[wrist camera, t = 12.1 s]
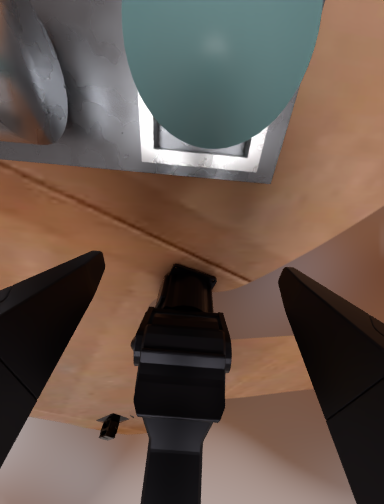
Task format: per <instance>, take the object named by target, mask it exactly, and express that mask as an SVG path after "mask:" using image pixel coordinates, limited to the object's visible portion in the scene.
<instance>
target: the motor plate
mask: <svg viewBox="0 0 384 504" xmlns="http://www.w3.org/2000/svg"><path fill="white" fill-rule="evenodd" d="M324 2H325V0H323V4H322V9H323V6H324ZM299 87H300V84H299V86H298V88H297V90H296V92H295V93H294V95H293V97H292V98H291V100H290V101H289V103H288V104H287V105H286V107H285V108H284V109H283V111H282V112H281V113H280V114H279V115H278V117H277V118H276V119H275V120H274V121H273V122H272V123H271V124H270V125H269V126H267V127H266V128H265V129H264V130H262V131H261V132H260V133H259V134H257V135H256V136H254V137H252V138H251V139H249V140H247V141H245V142H243V143H240V144H238V145H235V146H231V147H228V148H221V149H205V148H199V147H195V146H192V145H189V144H187V143H185V142H183V141H181V140H179V139H177V138H176V137H174V136H173V135H171V134H170V133H169V132H168V131H167V130H165V129H164V128H163V127H162V126H161V125H160V124H159V123H158V122H157V120H156V119H155V118H154V117H153V116H152V114H151V113H150V111H149V110H148V108H147V107H146V105H145V104H144V102H143V100H142V98H141V96H140V95H139V92H138V90H137V88H136V85H135V83H134V81H133V78H132V75H131V71H130V68H129V65H128V61H127V56H126V52H125V47H124V39H123V31H122V0H0V159H5V160H16V161H27V162H37V163H48V164H59V165H70V166H81V167H92V168H102V169H113V170H124V171H135V172H146V173H157V174H167V175H178V176H189V177H200V178H211V179H222V180H233V181H243V182H254V183H265V184H271V181H272V177H273V174H274V171H275V167H276V164H277V161H278V157H279V154H280V150H281V147H282V144H283V140H284V137H285V134H286V130H287V127H288V124H289V120H290V117H291V113H292V110H293V107H294V103H295V100H296V97H297V93H298V90H299Z"/></svg>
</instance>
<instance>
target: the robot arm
mask: <svg viewBox="0 0 384 504" xmlns="http://www.w3.org/2000/svg"><path fill="white" fill-rule="evenodd" d="M175 267H177V268H175ZM104 270H105V262H104V257H103V253H102V252H101V251H91V252H88V253H86V254H84V255H81V256H79V257H77V258H74V259H72V260H70V261H67V262H65V263H63V264H60V265H58V266H56V267H54V268H51V269H49V270H47V271H44V272H42V273H40V274H37V275H35V276H33V277H30V278H28V279H26V280H24V281H21V282H19V283H17V284H14V285H13V286H10V287H7V288H5V289H3V290H0V468H1V466H2V464H3V462H4V460H5V459H6V457H7V455H8V453H9V451H10V449H11V448H12V446H13V444H14V442H15V440H16V438H17V437H18V435H19V433H20V431H21V429H22V427H23V425H24V424H25V422H26V420H27V418H28V416H29V415H30V413H31V411H32V409H33V407H34V405H35V404H36V402H37V399H38V398H39V396H40V394H41V392H42V390H43V389H44V387H45V385H46V383H47V381H48V379H49V378H50V376H51V374H52V372H53V370H54V368H55V367H56V365H57V363H58V361H59V359H60V357H61V356H62V354H63V352H64V350H65V348H66V346H67V345H68V343H69V341H70V339H71V337H72V335H73V334H74V332H75V330H76V328H77V326H78V324H79V323H80V321H81V319H82V317H83V315H84V313H85V312H86V310H87V308H88V306H89V304H90V302H91V301H92V299H93V297H94V295H95V292H96V290H97V287H98V285H99V282H100V280H101V278H102V275H103V273H104ZM212 280H214V281H212ZM216 282H217V280H216V278H215V277H213V276H210V275H207V274H204V273H202V272H199V271H196V270H193V269H190V268H187V267H185V266H182V265H179V264H174V265H173V267H172V269H171V271H170V273H169V275H166V276H165V278H164V280H163V282H162V285H161V287H160V290H159V294H158V298H157V302H156V306H155V308H154V307H149V308H148V311H147V312H146V313H145V315H144V318H143V320H142V322H141V324H140V326H139V329H138V331H137V333H136V336H135V337H134V338H133V340H132V342H131V348H132V349H133V351H134V366H138V372H137V379H136V386H135V394H134V405H135V410H136V414H137V416H138V417H142V418H143V421H144V424H145V427H146V430H147V433H148V436H149V443H148V452H147V459H146V467H145V475H144V482H143V490H142V497H141V504H201V477H202V475H201V474H202V448H203V441H204V439H205V437H206V435H207V433H208V431H209V429H210V427H211V426H212V424H213V422H215V423H218V422H219V421H220V419H221V416H222V414H223V411H224V409H225V373H229V371H230V367H231V358H232V350H231V339H230V335H229V331H228V328H227V325H226V322H225V318H224V315H223V313H220V312H218V313H213V301H212V288H213V287H214V285H215V284H216ZM278 284H279V288H280V292H281V297H282V301H283V305H284V308H285V312H286V315H287V317H288V320H289V323H290V325H291V328H292V331H293V334H294V336H295V339H296V342H297V344H298V347H299V350H300V352H301V355H302V358H303V360H304V363H305V366H306V368H307V371H308V374H309V377H310V379H311V382H312V385H313V387H314V390H315V392H316V395H317V398H318V401H319V403H320V406H321V408H322V411H323V414H324V416H325V419H326V420H327V421H326V422H327V425H328V428H329V431H330V433H331V436H332V439H333V441H334V444H335V447H336V449H337V452H338V455H339V457H340V460H341V463H342V466H343V468H344V471H345V474H346V476H347V479H348V482H349V484H350V487H351V490H352V492H353V495H354V498H355V500H356V503H357V504H384V323H382V322H381V321H379V320H377V319H376V318H374V317H373V316H370V315H369V314H368V313H366V312H364V311H363V310H361V309H360V308H358V307H356V306H355V305H353V304H351V303H350V302H348V301H347V300H345V299H343V298H342V297H340V296H338V295H337V294H335V293H334V292H332V291H331V290H329V289H327V288H326V287H324V286H323V285H321V284H319V283H318V282H316V281H314V280H313V279H311V278H310V277H308V276H306V275H305V274H303V273H302V272H300V271H298V270H297V269H295V268H293V267H285V268H284V269H283V271H282V273H281V276H280V278H279V281H278Z"/></svg>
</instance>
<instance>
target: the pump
mask: <svg viewBox="0 0 384 504" xmlns="http://www.w3.org/2000/svg"><path fill="white" fill-rule="evenodd" d="M322 4H323V0H122V31H123V39H124V47H125V52H126V56H127V61H128V65H129V68H130V71H131V75H132V78H133V81H134V83H135V85H136V88H137V90H138V92H139V95H140V96H141V98H142V100H143V102H144V104H145V105H146V107H147V108H148V110H149V111H150V113H151V114H152V116H153V117H154V118H155V119H156V120H157V122H158V123H159V124H160V125H161V126H162V127H163V128H164V129H165V130H167V131H168V132H169V133H170V134H171V135H173V136H174V137H176V138H177V139H179V140H181V141H183V142H185V143H187V144H189V145H192V146H195V147H199V148H205V149H221V148H228V147H231V146H235V145H238V144H240V143H243V142H245V141H247V140H249V139H251V138H252V137H254V136H256V135H257V134H259V133H260V132H261V131H262V130H264V129H265V128H266V127H267V126H269V125H270V124H271V123H272V122H273V121H274V120H275V119H276V118H277V117H278V115H279V114H280V113H281V112H282V111H283V109H284V108H285V107H286V105H287V104H288V103H289V101H290V100H291V98H292V97H293V95H294V93H295V92H296V90H297V88H298V86H299V84H300V83H301V81H302V79H303V76H304V74H305V72H306V70H307V67H308V65H309V62H310V59H311V56H312V53H313V51H314V47H315V43H316V39H317V35H318V31H319V26H320V20H321V14H322Z"/></svg>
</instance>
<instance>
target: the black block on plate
mask: <svg viewBox="0 0 384 504" xmlns="http://www.w3.org/2000/svg"><path fill="white" fill-rule="evenodd" d="M130 416H131V415H130ZM131 417H132V418H134V416H131ZM126 420H129V419H128V418H126V417H123V416H120V415H117V414H114V413H113V414H110V415H108V416H105V417H103V418H101V419H98V420H96V421H99V422H102V423H103V426H102V429H101V432H100V436H99V438H100V439H104V440H111V439H114V438H115V434H116V433H117V429H118V426H119V423H120V422H123V421H126Z"/></svg>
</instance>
